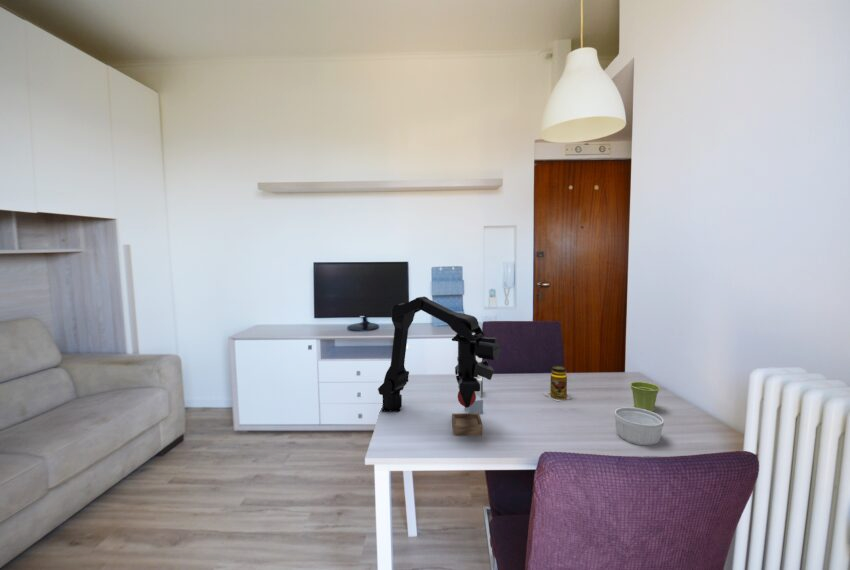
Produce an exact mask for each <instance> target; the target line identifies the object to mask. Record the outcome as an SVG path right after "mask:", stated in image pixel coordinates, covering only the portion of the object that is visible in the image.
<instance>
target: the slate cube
mask: <svg viewBox="0 0 850 570" xmlns="http://www.w3.org/2000/svg"><path fill="white" fill-rule="evenodd" d="M464 410H465V411H466V413H479V415H480V414H483V413H484V400H483V398H482V397H481V398H480V397H479V396H478V395H476V400H475V402H474V403H473V404H472V405H471V406H469V407H468V408H466V407H464Z"/></svg>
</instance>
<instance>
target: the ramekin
mask: <svg viewBox="0 0 850 570" xmlns="http://www.w3.org/2000/svg"><path fill="white" fill-rule="evenodd" d="M614 419H615V429H616V433H617V434H618V436H619V437H620V438H621V439H623V440H624V441H626V442H628V443H631V444H634V445H639V446H654V445H656V444H657V443H659V442H660V440H661V436H662V431H663V427H664V424H665V420H664V418H663V417H662V416H661V415H660V414H658V413H656V412H654V411H648V410H645V409H640V408H635V407H634V406H633V407H632V406H624V407H619V408H616V409H615V410H614Z"/></svg>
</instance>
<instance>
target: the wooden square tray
mask: <svg viewBox="0 0 850 570" xmlns="http://www.w3.org/2000/svg"><path fill="white" fill-rule="evenodd" d="M482 422H483V421H482V419H481V416H480V414H479V413H468V412H466V413H464V412H463V413H451V423H452V432H453V437H464V436H465V437H474V436H475V437H479V436H481V437H483V436H484V433H483V431H484V429H483V428H484V425H483V423H482Z"/></svg>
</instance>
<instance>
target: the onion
mask: <svg viewBox="0 0 850 570" xmlns="http://www.w3.org/2000/svg"><path fill="white" fill-rule="evenodd" d="M475 400H476V394H475V392H474V393H473V395H472V399H471V402H470V406H471V405H472V404H473V403H474V402H475ZM457 401H458V403H459V404H460V405H461V406H463V407H464V408H465V407H466V406H465V403H464V401H463V398H462V396H461V393H460V391H459V390H458V392H457ZM466 408H468V407H466Z"/></svg>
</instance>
